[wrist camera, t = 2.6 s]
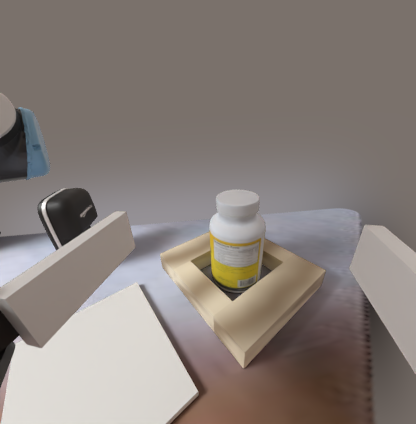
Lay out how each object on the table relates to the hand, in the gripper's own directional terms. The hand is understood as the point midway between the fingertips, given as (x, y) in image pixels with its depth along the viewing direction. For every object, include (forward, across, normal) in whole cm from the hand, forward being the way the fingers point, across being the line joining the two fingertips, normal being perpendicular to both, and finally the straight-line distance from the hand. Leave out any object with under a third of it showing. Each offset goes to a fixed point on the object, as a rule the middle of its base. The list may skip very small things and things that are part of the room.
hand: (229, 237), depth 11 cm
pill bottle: (+10, 0, -13) cm, 17 cm away
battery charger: (+10, -23, -13) cm, 28 cm away
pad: (-3, -11, -13) cm, 17 cm away
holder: (+10, 0, -13) cm, 16 cm away
